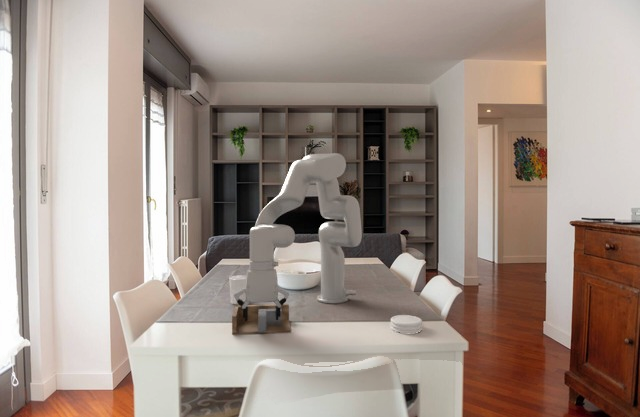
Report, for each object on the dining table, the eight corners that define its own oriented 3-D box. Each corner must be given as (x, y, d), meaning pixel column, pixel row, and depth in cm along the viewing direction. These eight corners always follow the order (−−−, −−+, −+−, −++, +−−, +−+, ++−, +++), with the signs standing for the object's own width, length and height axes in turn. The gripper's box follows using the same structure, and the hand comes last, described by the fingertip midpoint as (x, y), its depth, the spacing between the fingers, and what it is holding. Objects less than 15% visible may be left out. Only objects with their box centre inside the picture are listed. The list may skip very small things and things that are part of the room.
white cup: (245, 305, 163) (245, 279, 162) (226, 304, 164) (225, 278, 164) (252, 300, 171) (252, 275, 170) (234, 299, 172) (234, 274, 172)
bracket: (258, 324, 139) (258, 309, 138) (281, 323, 140) (281, 308, 139) (258, 332, 131) (258, 316, 130) (282, 331, 132) (282, 315, 132)
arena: (288, 320, 145) (288, 304, 145) (290, 332, 133) (290, 314, 133) (235, 322, 143) (234, 305, 142) (232, 334, 131) (232, 316, 131)
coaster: (402, 336, 130) (402, 325, 130) (384, 327, 139) (384, 316, 139) (428, 332, 134) (428, 321, 134) (410, 323, 143) (410, 313, 143)
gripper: (288, 263, 139) (288, 315, 140) (234, 264, 137) (234, 316, 137) (289, 267, 131) (289, 322, 132) (232, 268, 129) (233, 324, 130)
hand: (261, 319), depth 135 cm, fingers open, 9 cm apart
